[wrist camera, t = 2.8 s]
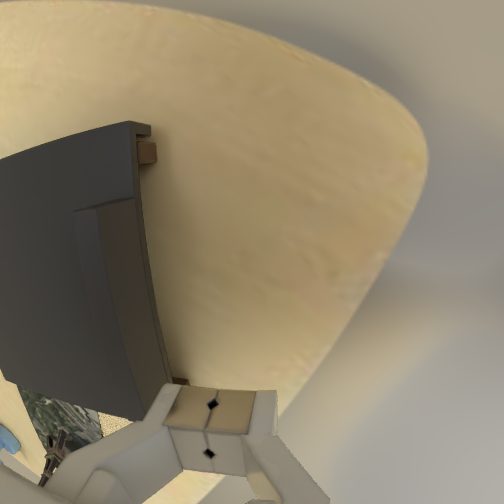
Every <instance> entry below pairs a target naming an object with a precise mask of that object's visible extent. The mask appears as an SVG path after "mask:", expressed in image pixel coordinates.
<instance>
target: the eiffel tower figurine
mask: <svg viewBox="0 0 504 504" xmlns="http://www.w3.org/2000/svg"><path fill="white" fill-rule="evenodd" d="M17 387H18V390H19V393H20V395H21V397H22V400H23V402H24V405H25V407H26V409H27V412H28V414H29V417H30V419H31V422H32V424H33V426H34V428H35V430H36V432H37V434H38V437H39V439H40V441H41V442H42V444H43V446H44V448H45V450H46V452H47V454H46V455H45V458H46V464H45V468H44V472H43V474H41V476H42V477H41V480H40V482H39V484H38V485H39V486H41V487H42V488H43V487H44V486H45V484H46V483H47V482H48V480H49V479H50V477H51V476H52V475H53V473H52V472H53V470H54V469H55V467H56V468H58V466H59V465H60V463H61V462H62V461H63V459H64V458H65V456H66V455H67V454H69V453H72V452H74V451H76V450H78V449H80V448H83V447H85V446H87V445H89V444H91V443H93V442H95V441H97V440H99V439H101V438H102V436H101V430H100V424H99V418H98V412H97V411H94V410H90V409H86V408H83V407H79V406H76V405H73V404H70V403H66V402H63V401H60V400H57V399H54V398H51V397H48V396H45V395H43V394H40V393H37V392H34V391H32V390H29V389H27V388H24V387H21V386H19V385H17Z"/></svg>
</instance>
